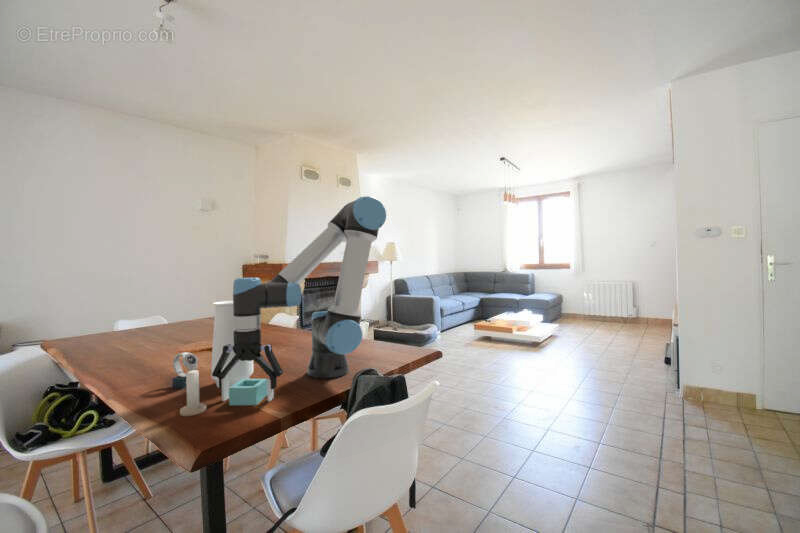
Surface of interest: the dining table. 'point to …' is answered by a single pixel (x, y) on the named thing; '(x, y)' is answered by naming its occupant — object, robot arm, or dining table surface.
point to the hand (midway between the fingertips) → (248, 399)
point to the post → (192, 395)
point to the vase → (224, 337)
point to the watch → (188, 361)
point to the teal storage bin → (248, 392)
